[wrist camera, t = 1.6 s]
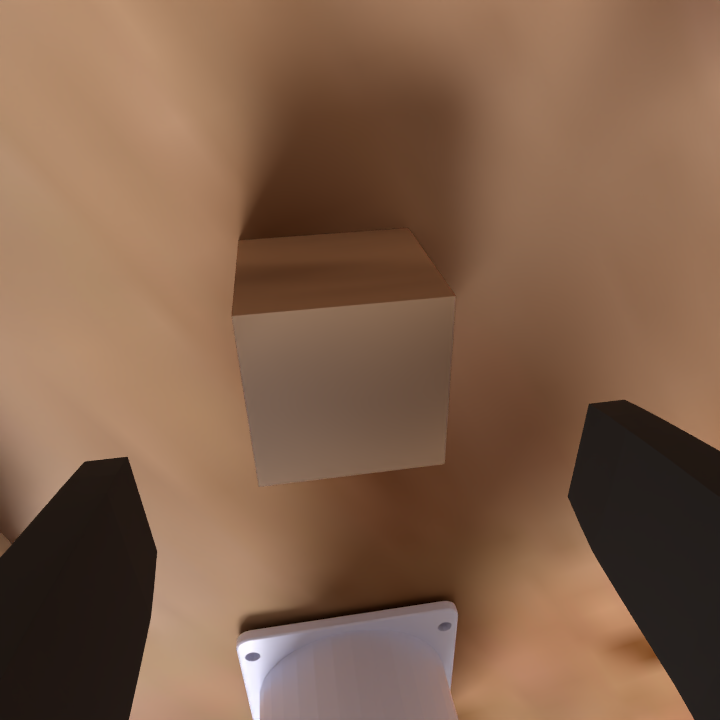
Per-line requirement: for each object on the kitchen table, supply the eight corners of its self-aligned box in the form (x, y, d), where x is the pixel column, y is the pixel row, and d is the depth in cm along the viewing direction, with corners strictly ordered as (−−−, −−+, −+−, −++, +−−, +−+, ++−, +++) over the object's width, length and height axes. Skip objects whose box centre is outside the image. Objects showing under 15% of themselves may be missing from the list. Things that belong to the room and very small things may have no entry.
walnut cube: (404, 367, 16) (444, 464, 12) (259, 383, 15) (258, 487, 12) (407, 226, 14) (455, 296, 10) (238, 238, 13) (231, 315, 10)
